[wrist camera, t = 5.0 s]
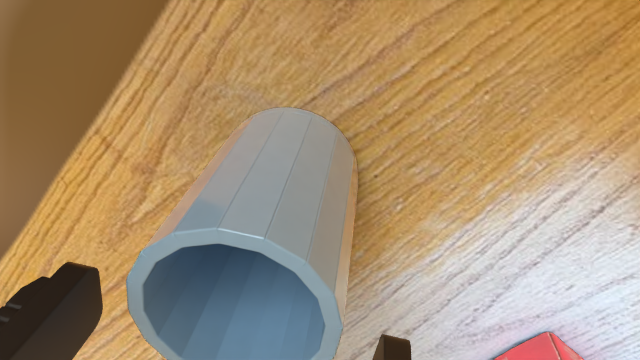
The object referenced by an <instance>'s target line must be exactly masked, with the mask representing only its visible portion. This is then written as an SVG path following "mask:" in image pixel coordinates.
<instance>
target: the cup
mask: <svg viewBox="0 0 640 360" xmlns="http://www.w3.org/2000/svg"><path fill="white" fill-rule="evenodd" d="M358 180H359V179H358V166H357V160H356V157H355V154H354V151H353V149H352V147H351V145H350V143H349V142H348V140H347V139H346V137H345V136H344V135H343V134H342V132H341V131H340V130H339V129H338V128H337V127H336V126H335V125H333V124H332V123H331V122H329V121H328V120H326V119H325V118H323V117H321V116H319V115H317V114H315V113H312V112H310V111H307V110H303V109H298V108H292V107H279V108H271V109H267V110H263V111H261V112H258V113H256V114H254V115H252V116H250V117H248V118H247V119H246V120H245V121H243V122H242V123H241V124H240V125H239V126H238V127H237V128H236V129H234V131H233V132H232V133H231V134H230V136H229V137H228V138H227V139H226V141H225V142H224V143H223V145H222V146H221V147H220V149H219V150H218V151H217V153H216V154H215V155H214V156H213V158H212V159H211V160H210V162H209V163H208V164H207V166H206V167H205V168H204V170H203V171H202V172H201V173H200V175H199V176H198V177H197V179H196V180H195V181H194V183H193V184H192V185H191V187H190V188H189V189H188V190H187V192H186V193H185V194H184V196H183V197H182V198H181V200H180V201H179V202H178V204H177V205H176V206H175V207H174V209H173V210H172V211H171V213H170V214H169V215H168V217H167V218H166V219H165V221H164V222H163V223H162V224H161V226H160V227H159V228H158V230H157V231H156V232H155V234H154V235H153V236H152V238H151V239H150V240H149V241H148V243H147V244H146V245H145V247H144V248H143V249H142V251H141V252H140V254H139V256H138V257H137V259H136V261H135V263H134V265H133V267H132V269H131V270H130V272H129V274H128V276H127V280H126V286H127V301H128V310H129V313H130V315H131V316H132V318H133V320H134V322H135V324H136V325H137V327H138V329H139V331H140V332H141V334H142V336H143V338H144V339H146V341H147V342H148V343H149V344H150V345H151V346H152V347H153V348H154V349H155V350H157V351H158V352H159V353H160V354H161V355H162V356H163V357H164V358H166V359H167V360H332V359H333V358H334V356H335V355H336V352H337V348H338V345H339V342H340V338H341V335H342V331H343V326H344V317H345V307H346V297H347V288H348V278H349V269H350V259H351V249H352V240H353V230H354V220H355V211H356V201H357V192H358Z"/></svg>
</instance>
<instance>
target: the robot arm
mask: <svg viewBox="0 0 640 360" xmlns="http://www.w3.org/2000/svg"><path fill="white" fill-rule="evenodd" d="M102 309H103V304H102V295H101V286H100V277H99V271H98V269H97V268H95V267H90V266H86V265H81V264H77V263H73V262H67V263H65V264H64V265H62V266H61V267H60V268H59V269H58V270H57V271H56V272H55V274H54V275H53V276H52V277H51V278H48V277H43V276H42V277H40V278H39V279H37V280H35V281H33V282H31V283H30V284H28V285H26V286H24V287H22V288H21V289H20V290H19V291H18V292H17V293H16V294H15V295H14V296H13V297H12V298H11V299H10V300H9V301H8V302H7V303H6V305H5V306H4V307H3V306H2V307H1V308H0V360H72V359H73V358H74V356H75V355H76V354H77V352H78V351H79V350H80V348H81V347H82V346H83V344H84V343H85V342H86V340H87V339H88V337H89V336H90V335H91V333H92V332H93V331H94V329H95V328H96V326H97V324H98V322H99V320H100V318H101V314H102ZM373 360H411V345H410V341H409V340H406V339H402V338H398V337H393V336H389V335H384V334H382V335H381V337H380V340H379V343H378V345H377V348H376V351H375V354H374V357H373Z"/></svg>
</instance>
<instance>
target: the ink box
mask: <svg viewBox="0 0 640 360" xmlns="http://www.w3.org/2000/svg"><path fill="white" fill-rule="evenodd" d="M494 360H584V359H583V358H582V357H580V356H579V355H578V354H577V353H576V352H574V351H573V350H572V349H571V348H570V347H568V346H567V345H566V344H565V343H564V342H563V341H561V340H560V339H559V338H558V337H557V336H556V335H554V334H553V333H550V332H545V333H542V334H540V335H538V336H536V337H534V338H532V339H530V340H528V341H526V342H524V343H522V344H520V345H518V346H516V347H514V348H512V349H510V350H508V351H507V352H505V353H504V354H502V355H500V356H499V357H497V358H495V359H494Z"/></svg>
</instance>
